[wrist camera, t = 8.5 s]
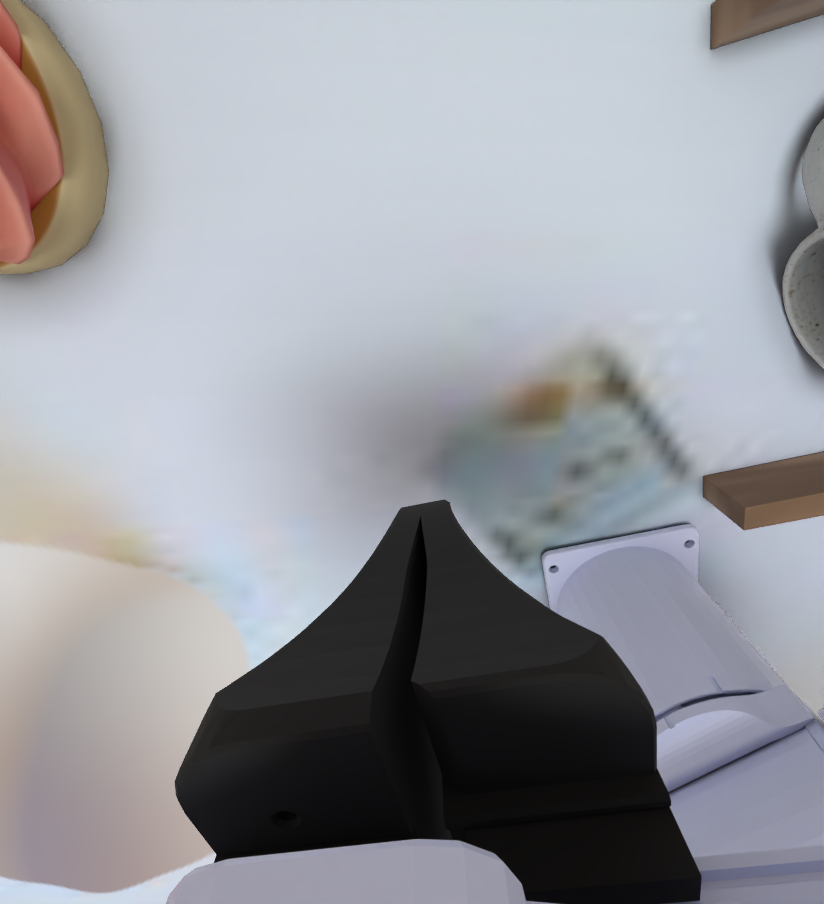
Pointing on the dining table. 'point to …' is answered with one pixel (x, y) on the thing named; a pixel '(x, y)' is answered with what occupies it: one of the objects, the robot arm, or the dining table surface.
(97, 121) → the cake
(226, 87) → the dining table surface
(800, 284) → the ceramic mug
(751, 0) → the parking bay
